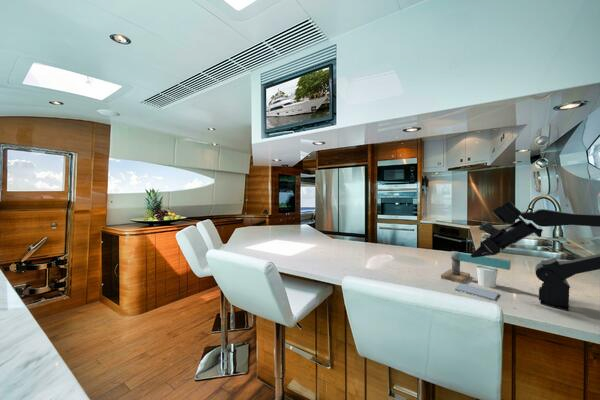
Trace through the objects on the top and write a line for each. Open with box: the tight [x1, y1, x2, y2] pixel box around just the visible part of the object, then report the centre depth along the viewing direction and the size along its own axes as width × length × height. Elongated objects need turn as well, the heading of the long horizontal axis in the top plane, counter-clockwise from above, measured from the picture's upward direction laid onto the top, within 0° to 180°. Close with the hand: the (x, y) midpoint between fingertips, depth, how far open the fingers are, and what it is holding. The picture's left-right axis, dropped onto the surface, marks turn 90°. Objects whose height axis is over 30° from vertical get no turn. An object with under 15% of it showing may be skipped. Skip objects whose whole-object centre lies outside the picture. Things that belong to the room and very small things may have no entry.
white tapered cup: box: [476, 265, 499, 289], centre depth 96 cm, size 7×7×7 cm
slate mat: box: [454, 283, 499, 302], centre depth 89 cm, size 12×8×1 cm, turn 41°
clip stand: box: [440, 259, 471, 284], centre depth 104 cm, size 8×12×8 cm, turn 131°
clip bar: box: [450, 250, 512, 271], centre depth 98 cm, size 20×4×3 cm, turn 41°
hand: (474, 255), depth 94 cm, fingers open, 9 cm apart
